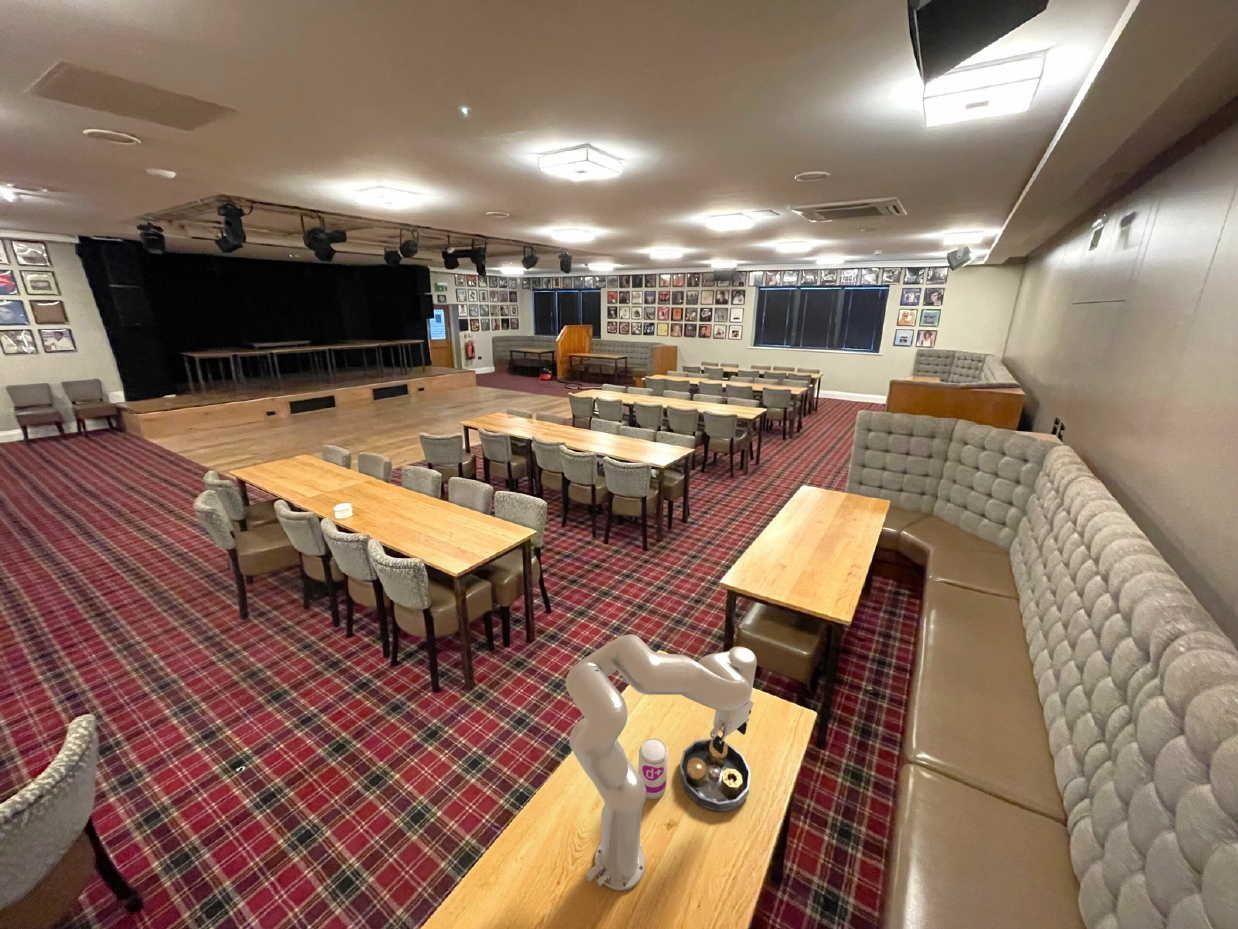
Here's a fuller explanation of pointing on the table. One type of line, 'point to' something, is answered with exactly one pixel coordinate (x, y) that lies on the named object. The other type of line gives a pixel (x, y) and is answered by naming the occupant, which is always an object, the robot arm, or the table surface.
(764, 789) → the table surface
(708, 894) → the table surface
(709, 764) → the tray
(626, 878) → the robot arm
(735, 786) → the tan hollow faceted cylinder
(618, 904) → the table surface
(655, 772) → the supplement can
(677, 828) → the table surface
